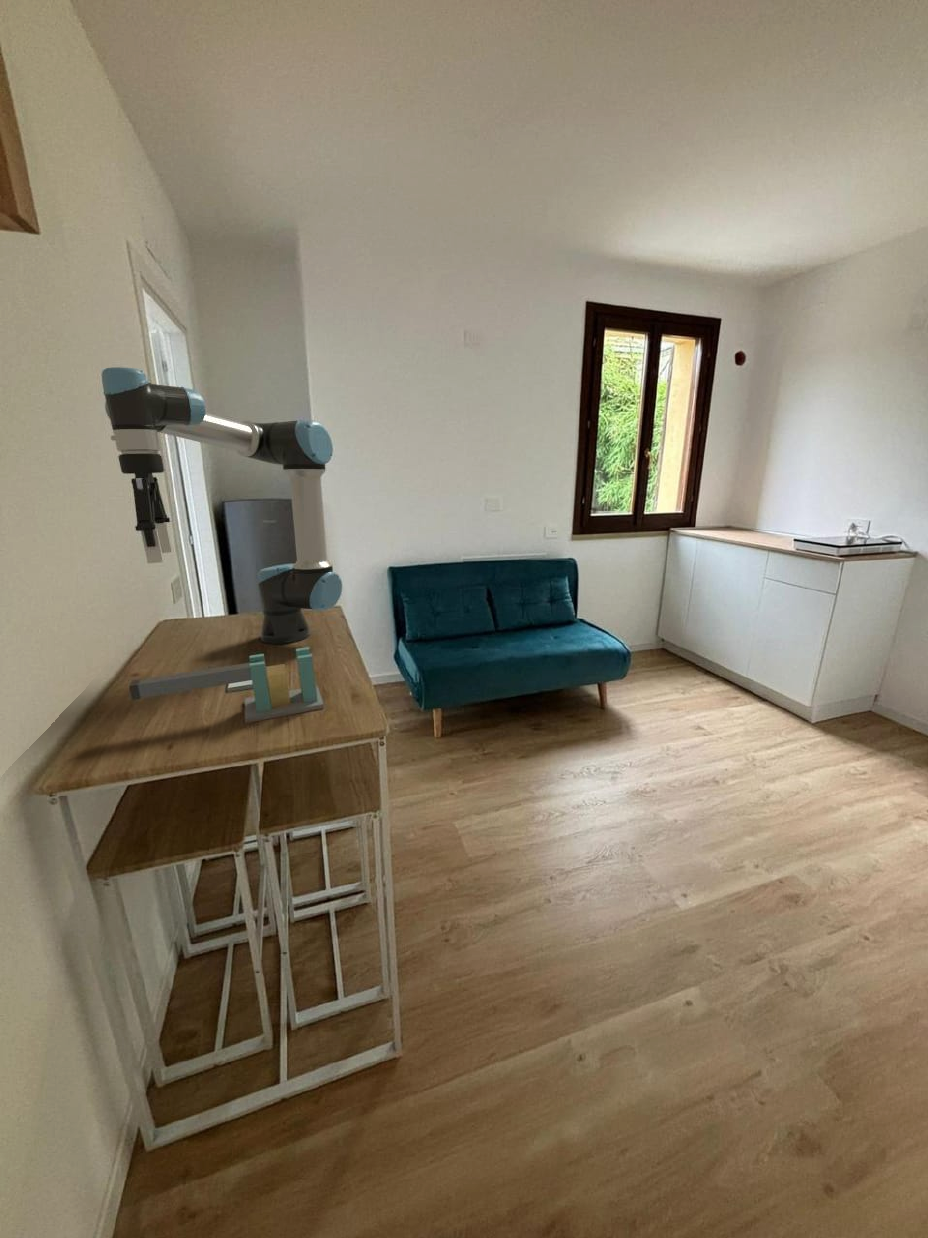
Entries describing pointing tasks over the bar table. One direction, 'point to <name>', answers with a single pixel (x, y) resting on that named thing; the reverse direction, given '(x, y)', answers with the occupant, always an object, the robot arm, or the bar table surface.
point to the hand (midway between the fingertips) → (160, 557)
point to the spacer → (278, 686)
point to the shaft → (189, 681)
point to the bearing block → (299, 698)
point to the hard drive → (240, 686)
